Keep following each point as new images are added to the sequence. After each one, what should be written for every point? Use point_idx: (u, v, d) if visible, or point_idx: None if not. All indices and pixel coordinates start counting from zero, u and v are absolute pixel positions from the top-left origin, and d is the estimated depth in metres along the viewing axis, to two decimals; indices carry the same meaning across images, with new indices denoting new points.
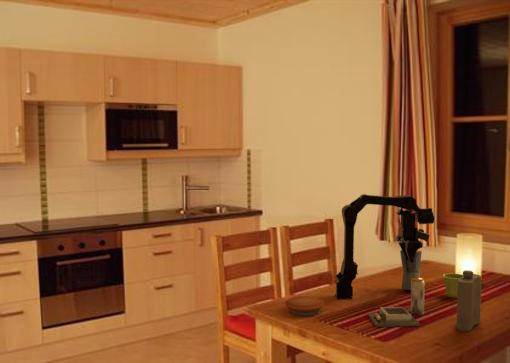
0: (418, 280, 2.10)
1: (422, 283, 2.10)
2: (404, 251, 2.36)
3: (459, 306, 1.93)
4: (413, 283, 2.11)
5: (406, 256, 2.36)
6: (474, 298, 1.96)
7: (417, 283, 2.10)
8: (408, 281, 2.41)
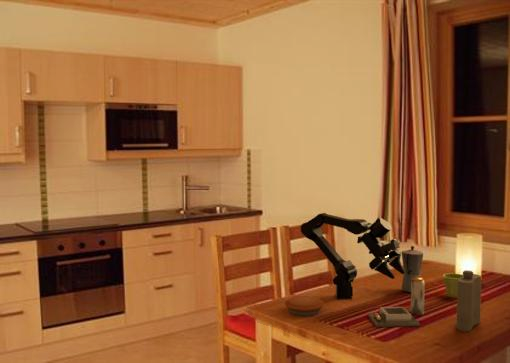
0: (418, 280, 2.10)
1: (422, 283, 2.10)
2: (396, 268, 2.23)
3: (459, 306, 1.93)
4: (413, 283, 2.11)
5: (400, 271, 2.21)
6: (474, 298, 1.96)
7: (417, 283, 2.10)
8: (408, 283, 2.40)
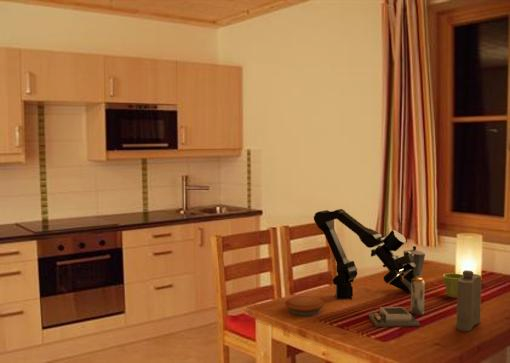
0: (418, 280, 2.10)
1: (422, 283, 2.10)
2: None
3: (459, 306, 1.93)
4: (413, 283, 2.11)
5: None
6: (474, 298, 1.96)
7: (417, 283, 2.10)
8: (408, 283, 2.40)
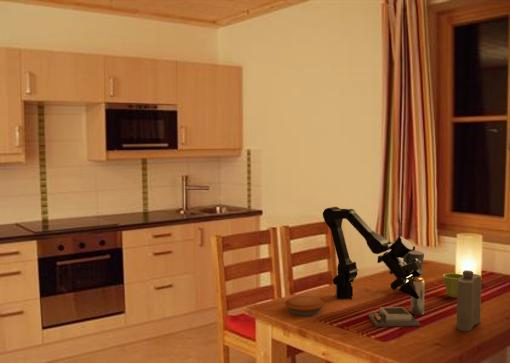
0: (418, 280, 2.10)
1: (422, 283, 2.10)
2: None
3: (459, 306, 1.93)
4: (413, 283, 2.11)
5: None
6: (474, 298, 1.96)
7: (417, 283, 2.10)
8: None
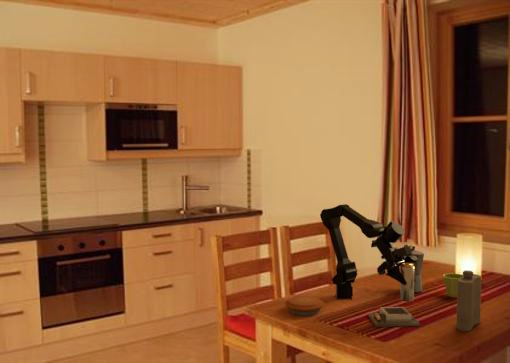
0: (406, 266, 2.04)
1: (411, 269, 2.04)
2: None
3: (459, 306, 1.93)
4: (402, 269, 2.06)
5: None
6: (474, 298, 1.96)
7: (405, 269, 2.04)
8: None
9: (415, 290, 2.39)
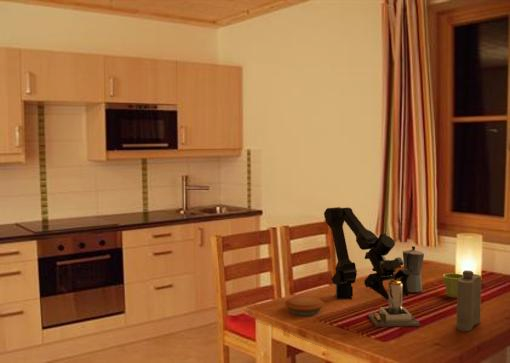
0: (393, 283, 2.02)
1: (397, 287, 2.01)
2: None
3: (459, 306, 1.93)
4: (389, 286, 2.03)
5: (404, 293, 2.06)
6: (474, 298, 1.96)
7: (392, 286, 2.02)
8: (408, 283, 2.40)
9: (415, 290, 2.39)
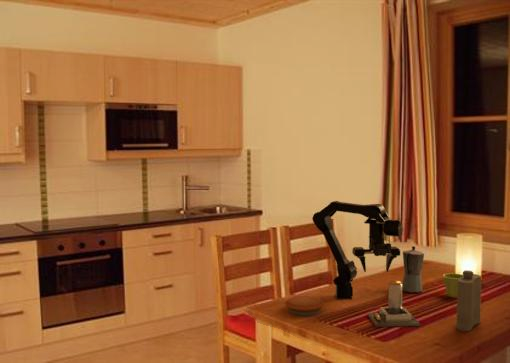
0: (393, 283, 2.02)
1: (397, 287, 2.01)
2: (386, 262, 2.27)
3: (459, 306, 1.93)
4: (389, 286, 2.03)
5: (386, 268, 2.26)
6: (474, 298, 1.96)
7: (392, 286, 2.02)
8: (408, 283, 2.40)
9: (415, 290, 2.39)
